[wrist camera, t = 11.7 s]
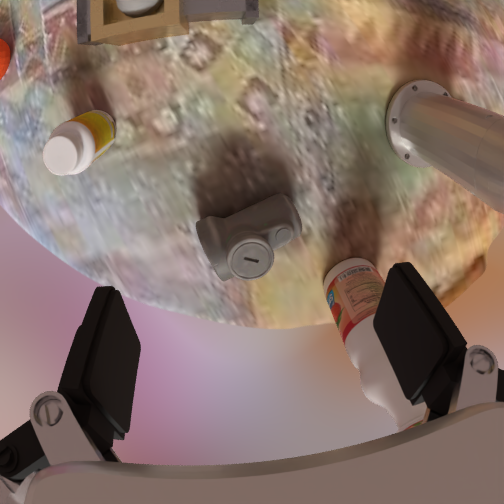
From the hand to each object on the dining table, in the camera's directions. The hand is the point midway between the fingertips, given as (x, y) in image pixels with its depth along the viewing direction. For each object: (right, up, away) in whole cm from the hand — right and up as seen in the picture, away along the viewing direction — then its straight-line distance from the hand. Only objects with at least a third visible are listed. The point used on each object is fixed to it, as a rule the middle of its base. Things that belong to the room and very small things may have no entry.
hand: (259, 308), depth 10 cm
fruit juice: (+15, -2, +38) cm, 41 cm away
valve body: (-9, +29, +14) cm, 33 cm away
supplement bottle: (-19, +16, +21) cm, 33 cm away
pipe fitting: (-1, +6, +30) cm, 31 cm away
